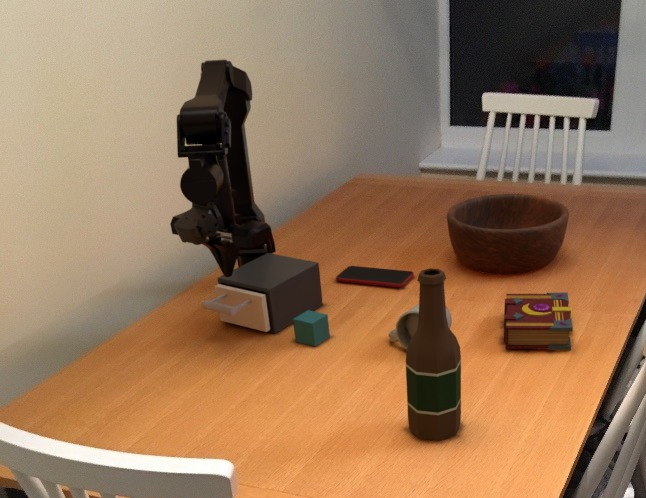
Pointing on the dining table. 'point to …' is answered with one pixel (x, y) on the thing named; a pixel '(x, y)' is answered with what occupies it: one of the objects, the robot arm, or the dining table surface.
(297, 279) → the cabinet
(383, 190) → the dining table surface
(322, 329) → the block
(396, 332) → the ceramic mug
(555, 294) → the decorative book
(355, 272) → the smartphone
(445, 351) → the beer bottle
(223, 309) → the drawer
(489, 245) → the wooden bowl
